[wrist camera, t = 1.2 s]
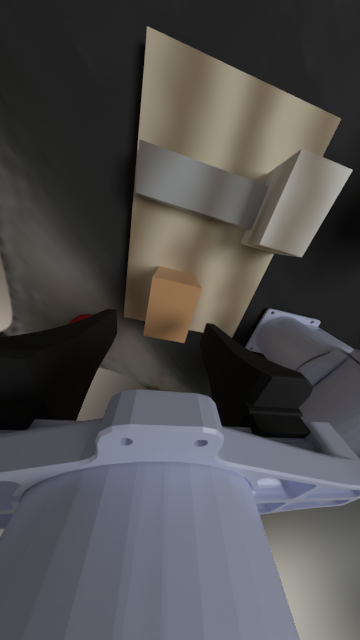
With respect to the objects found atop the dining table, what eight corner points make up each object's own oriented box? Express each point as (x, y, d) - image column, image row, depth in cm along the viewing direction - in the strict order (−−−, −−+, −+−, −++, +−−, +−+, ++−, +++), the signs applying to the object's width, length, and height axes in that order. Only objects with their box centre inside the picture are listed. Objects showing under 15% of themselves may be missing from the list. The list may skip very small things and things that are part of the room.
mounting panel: (330, 126, 14) (414, 65, 9) (229, 334, 25) (243, 357, 20) (149, 42, 12) (130, -102, 7) (125, 313, 22) (112, 334, 18)
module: (194, 274, 19) (201, 288, 13) (181, 317, 22) (184, 343, 16) (159, 265, 18) (152, 276, 13) (151, 310, 21) (143, 335, 16)
